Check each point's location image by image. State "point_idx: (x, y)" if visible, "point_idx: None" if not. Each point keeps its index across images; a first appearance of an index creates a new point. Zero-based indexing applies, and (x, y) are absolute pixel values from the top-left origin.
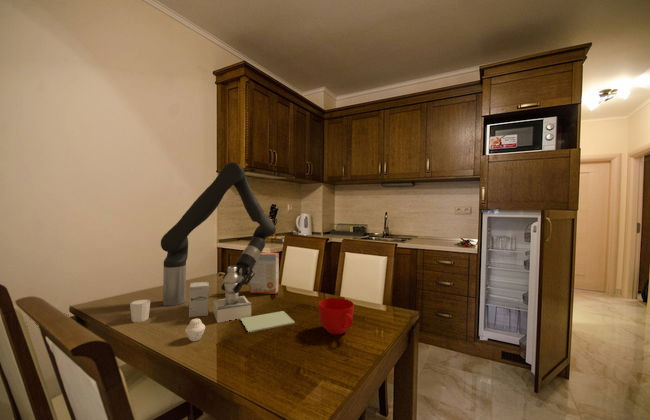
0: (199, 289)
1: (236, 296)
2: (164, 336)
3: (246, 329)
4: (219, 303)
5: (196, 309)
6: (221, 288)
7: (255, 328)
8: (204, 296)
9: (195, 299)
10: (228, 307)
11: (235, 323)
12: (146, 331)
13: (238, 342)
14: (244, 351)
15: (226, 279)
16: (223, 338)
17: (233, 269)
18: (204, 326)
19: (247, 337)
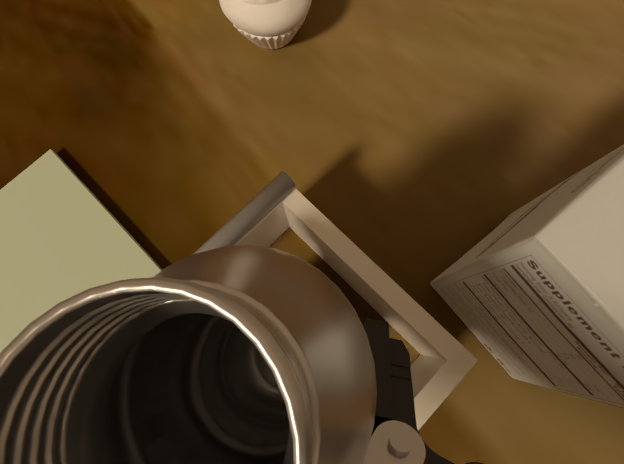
0: (580, 183)
1: (208, 350)
2: (426, 10)
3: (77, 177)
4: (419, 378)
5: (499, 226)
6: (383, 321)
7: (23, 188)
8: (503, 238)
9: (546, 196)
10: (224, 227)
11: (183, 234)
12: (555, 20)
13: (62, 63)
14: (4, 13)
15: (257, 246)
16: (149, 72)
17: (55, 343)
18: (223, 2)
19: (41, 113)
